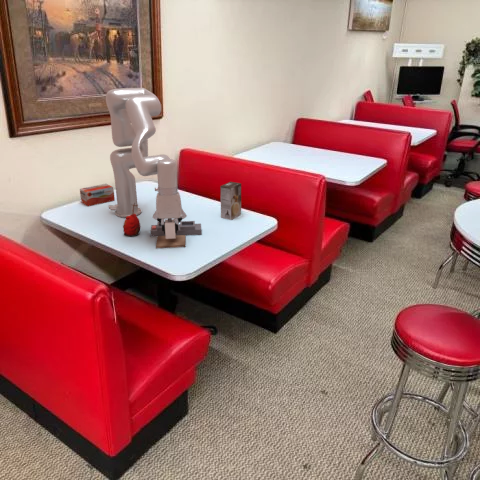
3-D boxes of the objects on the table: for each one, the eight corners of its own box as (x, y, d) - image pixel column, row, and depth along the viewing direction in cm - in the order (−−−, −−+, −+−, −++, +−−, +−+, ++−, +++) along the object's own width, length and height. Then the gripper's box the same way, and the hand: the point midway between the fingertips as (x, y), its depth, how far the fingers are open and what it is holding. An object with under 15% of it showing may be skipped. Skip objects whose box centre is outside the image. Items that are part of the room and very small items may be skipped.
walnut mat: (155, 248, 177) (155, 245, 176) (157, 238, 186) (157, 236, 185) (185, 247, 178) (185, 244, 178) (185, 237, 187) (185, 235, 187)
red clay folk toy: (133, 229, 194) (129, 197, 188) (144, 232, 191) (142, 200, 185) (120, 235, 188) (117, 202, 182) (132, 238, 185) (129, 205, 179)
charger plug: (165, 238, 179) (164, 220, 175) (166, 234, 182) (164, 216, 179) (175, 238, 179) (174, 220, 176) (175, 234, 183) (174, 216, 179)
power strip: (150, 236, 187) (150, 228, 186) (151, 230, 194) (151, 221, 192) (201, 234, 190) (201, 226, 188) (201, 228, 196) (200, 220, 194)
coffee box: (230, 212, 216) (230, 181, 209) (241, 214, 213) (242, 183, 206) (220, 217, 209) (220, 185, 202) (231, 220, 205) (231, 188, 199)
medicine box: (108, 197, 235) (106, 183, 232) (115, 200, 229) (113, 186, 226) (81, 203, 226) (79, 188, 222) (87, 207, 220) (85, 192, 217)
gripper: (145, 193, 168) (149, 236, 176) (189, 192, 170) (190, 235, 177) (147, 187, 175) (150, 229, 182) (189, 187, 177) (190, 228, 184)
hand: (170, 231), depth 180 cm, fingers closed on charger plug, 4 cm apart
